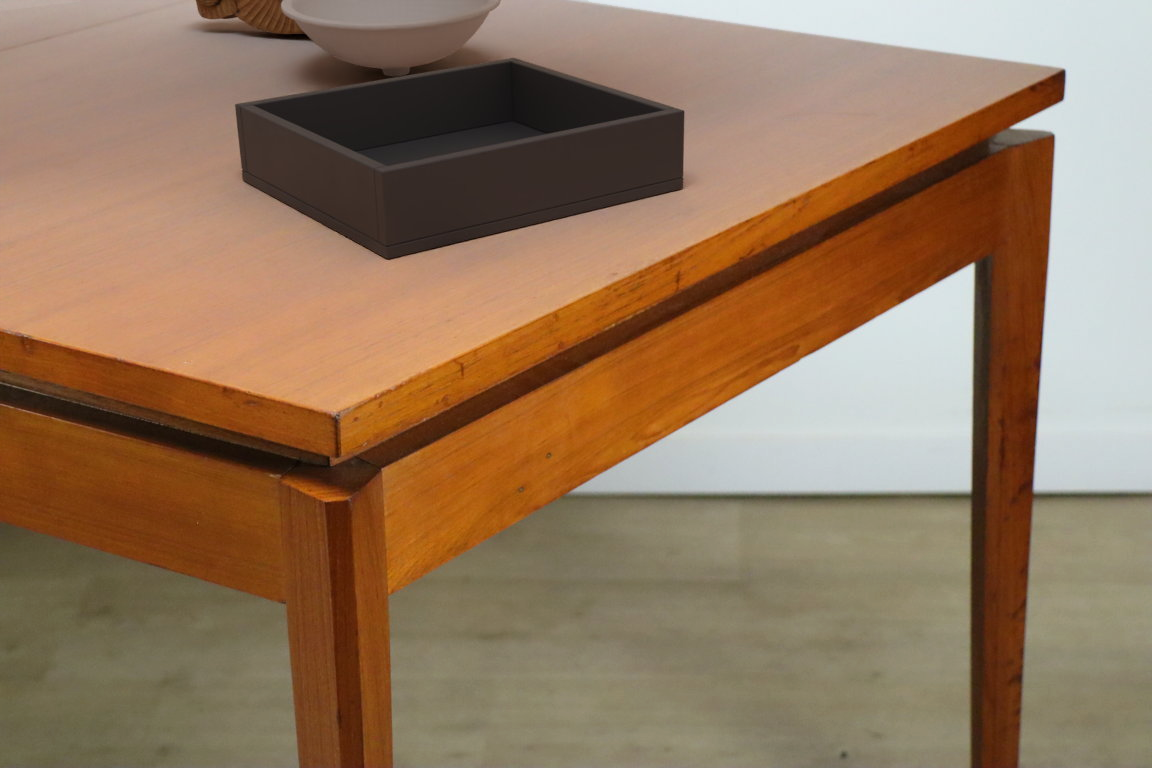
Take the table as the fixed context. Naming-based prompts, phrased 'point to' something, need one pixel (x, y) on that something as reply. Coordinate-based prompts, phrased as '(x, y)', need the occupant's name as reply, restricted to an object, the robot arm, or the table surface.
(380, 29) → the dish
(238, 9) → the wooden carving
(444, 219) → the tray
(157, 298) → the table surface
